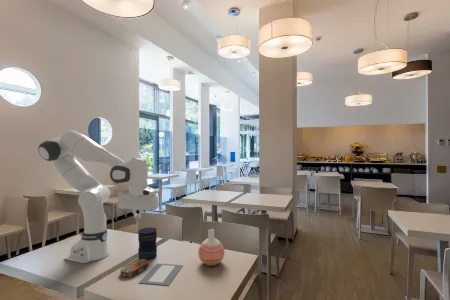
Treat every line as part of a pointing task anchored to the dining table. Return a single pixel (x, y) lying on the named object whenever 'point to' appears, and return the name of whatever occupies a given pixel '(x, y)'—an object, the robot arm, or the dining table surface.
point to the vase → (211, 250)
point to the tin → (134, 267)
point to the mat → (161, 274)
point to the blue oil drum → (147, 243)
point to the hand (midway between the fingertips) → (137, 218)
